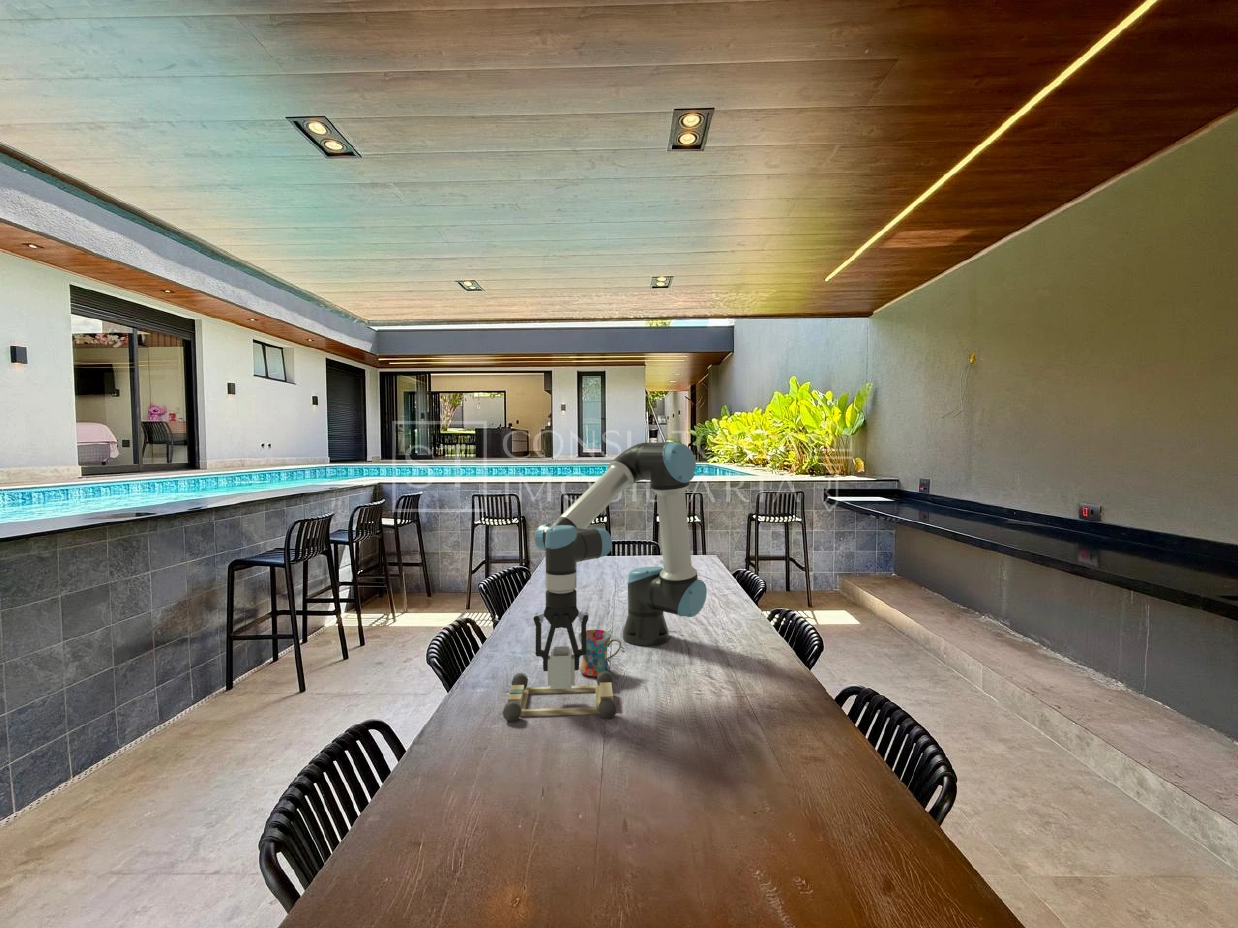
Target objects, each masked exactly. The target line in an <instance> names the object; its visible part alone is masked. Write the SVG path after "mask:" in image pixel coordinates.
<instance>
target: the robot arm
mask: <svg viewBox="0 0 1238 928" xmlns="http://www.w3.org/2000/svg"><path fill="white" fill-rule="evenodd" d="M606 469H607V470H606V471H605V472H603V474H602V475H601V476H600V477H599V478H598V479H597V480H596V481H595V482H594V483H592V484H591V486H590V487H588V488H587V490H586V491H585V492H583V493H582V495H580V496H579V497H578V498H577V499H576V500H575V501H574V502H573V503H572V504H571V505H570V506H569V507H568V508H567V509H566V510H565V511H564V512H563V513H562V514H561V515H560V516H559V517H558V518H557V519H556V520H554V521H553V522H552V523H544V524H541V525H539V526H538V527H537V528H536V530H535V532H534V543H535V546H536V547H537V549H539V550H541V551H543V552H545V553H544V554H545V589H546V590H545V608H544V610H543V612H540V613H535V614H534V616H533V622H534V625H535V657H540V658H542V670H543V672H547V687H551V672H550V656H551V654H550V652H551V651H550V650H551V648H552V647H551V646H552V641H553V639H554V635H555V632H556V629H560V628H563V629H566V632H567V634H568V638H569V641H570V646H571V648H572V657H571V686H575V683H576V681H575V680H576V679H575V676H576V675H575V671H580V658H581V657H583V655H586V653H587V650H586V630H587V624H588V621H589V613H588V612H581V611H580V610H579V609H578V607H577V598H578V597H577V596H578V595H577V589H576V588H577V574H578V573H577V570H578V569H577V567H578V566H577V563H579V562H585V561H589V560H594V559H597V560H598V559H600V558H602V557H605V556H608V554H610V552H611V550H612V547H613V545H612V544H613V540H612V536H611V535H610V533H609V532H608V531H607V530H606V529H605V528H602V527H601V528H596V527H594V528H593V529H592V528H591V529H588V527H589V526H590V524H591V523H592V522H593V521H595V519H596V518H597V517H598V516H599V515H600V514H601V513H602V512H604V511H605V509H606V508H607V507H609V505H610V504H611V503H612V502H613V500H615V499H616V498H617V496H618V495H619V494H621V492H622V491H624V490H625V488H626V489H627V488H631V487H632V486H633V485H634V483H636V482H641V481H650V482H649V483H650V489H651V491H653V492H654V493H655V494H656V501H657V510H658V520H659V531H660V542H661V543H660V544H661V551H662V553H661V554H662V561H663V567H661V566H646V567H645V566H644V567H638V568H634V569H631V570H630V571H629V573H628V574H627V575H628V577H627V617H626V619H625V624H624V626H623V630H622V639H623V641H624V642H626V643H628V644H632V645H635V646H644V647H645V646H649V647H650V646H659V645H662V644H664V643H667V642H668V641H669V637H670V635H669V634H670V631H669V628H668V625H667V622H666V618H665V616H664V613H666V614H672V615H676V616H679V617H686V618H694V617H695V616H697V615H698V614H700V612H701V611H702V609H703V607H704V605H705V604H706V599H707V593H708V591H707V585H706V583H705V581H703V580H702V579H699V578H698V570H697V569H696V568H695V567H694V566H692V556H691V555H692V554H691V545H690V544H691V543H690V533H689V523H688V522H689V521H688V520H689V519H688V513H687V512H688V511H687V500H686V490H687V489H688V488H689V487H690V482H691V481H692V480H693V479H694V477H695V472H696V469H697V463H696V458H695V455H694V452H693V451H692V450H691V449H690V447H688V445H687V444H684V443H682V442H674V441H667V442H666V441H665V442H663V441H661V442H641V443H640V442H639V443H638V444H635V445H632V446H630V447H629V448H627V449H625V450H624V451H623V452H621V453H620V454H618V455H617V456H615V458H614V459H612V461H611V462H609V464H608V465H607V468H606ZM544 618H545V619H546V620H547V621H548V624H549V625H550V627H549V631H548V634H547V639H546V641H545V645H544V649H542V623H543V622H544ZM577 618H578V620H579V623H580V626H581V627H580V631H581V632H580V633H581V642H580V645H582V646H581V648H579V646H578V642H577V638H576V635H575V631H574V626H573V624H574V622H575V620H576V619H577Z"/></svg>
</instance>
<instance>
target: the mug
mask: <svg viewBox="0 0 1238 928" xmlns="http://www.w3.org/2000/svg"><path fill="white" fill-rule="evenodd" d="M577 637H578V640H579V642H580V643H581V632H579V634H577ZM613 642H618V643H619V647H618V649H617V650H616V651H615V653H613V654H611V655H610V656H608V648H609V647H610V645H611V644H612V643H613ZM580 645H581V644H580ZM621 646H622V642H621V640H619V639H616V638H613V639H612V633H611V632H609V631H608V630H605V629H586V650H587V653H586V655H582V660H581V664H580V666H579V672H580V673H581V674H583V675H584V676H588V677H597V676H598V674H599V673H600V672H602V671H608V672H609V673H610V671H611V668H610V666H609V665H610V664H609V663H611V660H610V659H612V658H614V657H615V656H616V655H617V654H618V653H619V652H620V650H621V649H622V648H621ZM581 647H582V645H581Z"/></svg>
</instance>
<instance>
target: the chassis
mask: <svg viewBox="0 0 1238 928" xmlns="http://www.w3.org/2000/svg"><path fill="white" fill-rule="evenodd" d="M596 677H597V678H596V681H597V682H596V683H597V685H580V686H579V685H576V686H575V685H571V689H551V686H536V687H535V686H534V687H532V686H531V687H528V683H529V679H528V676H527V675H526V674H525V673H521V672H517V673H516V674H514V676H513V677H512V680H511V688H510V691H509V695H508V698H507V702H506V703H505V705H504V708H503V711H502V717H503V718H504V720H505V721H507V722H510V723H515V722H516V721H518V719H520V717H542V716H543V717H544V716H574V715H575V716H576V715H577V716H578V715H600V717H602V718H603V719H605V720H606V719H607V720H608V719H612V718H614V717H615V715H616V713H617V705H616V702H615V700H614V694H613V683H614V682H613V675H612V674H611V672H610V671H609V672H608V671H602V672H600V673H599V674H598V676H596ZM567 693H574V694H575V693H595V706H591V707H590V706H589V707H587V706H585V707H555V708H526V707H527V704H528V699H529V695H530V694H532V695H533V694H534V695H536V694H537V695H538V694H567Z"/></svg>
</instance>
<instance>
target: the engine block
mask: <svg viewBox="0 0 1238 928" xmlns="http://www.w3.org/2000/svg"><path fill="white" fill-rule="evenodd" d="M550 650H551V651H550V655H551V656H550V672H551V686H550V687H551V689H571V686H572V685H571V657H572V655H573V650H572V647H571V648H570V646H567V645H566V646H554V647H553V648H551V649H550Z"/></svg>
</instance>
